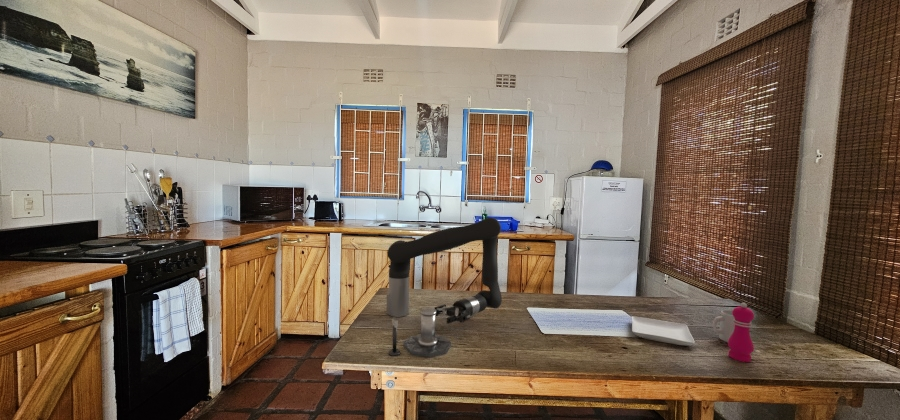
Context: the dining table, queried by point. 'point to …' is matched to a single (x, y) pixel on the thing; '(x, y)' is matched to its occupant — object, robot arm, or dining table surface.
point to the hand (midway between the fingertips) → (439, 317)
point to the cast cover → (427, 327)
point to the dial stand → (395, 339)
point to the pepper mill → (741, 334)
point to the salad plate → (662, 331)
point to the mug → (724, 325)
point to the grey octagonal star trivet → (428, 352)
